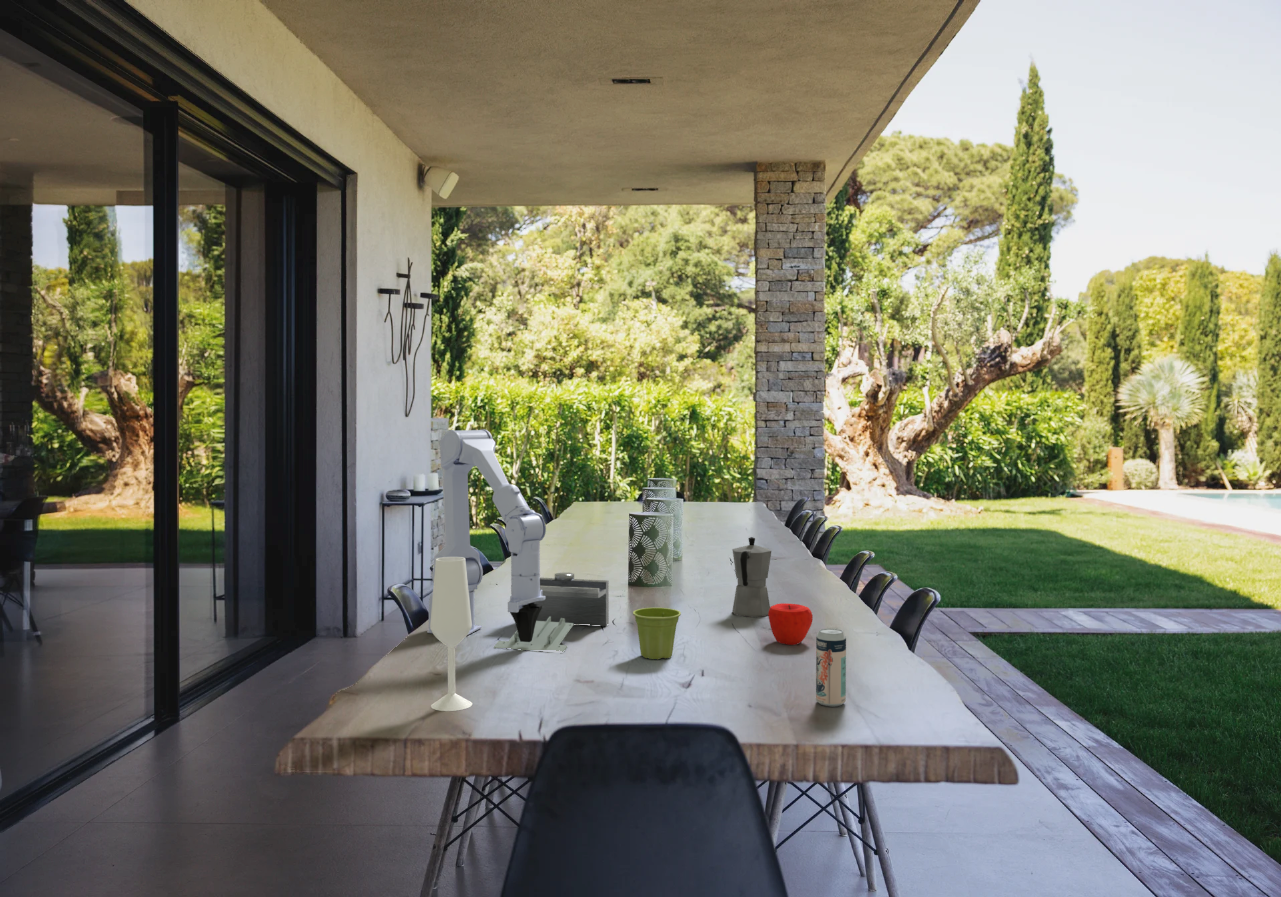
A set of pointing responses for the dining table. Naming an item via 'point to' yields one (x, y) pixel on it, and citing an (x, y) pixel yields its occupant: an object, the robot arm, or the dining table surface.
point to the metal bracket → (541, 637)
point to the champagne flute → (451, 620)
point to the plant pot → (656, 631)
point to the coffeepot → (751, 580)
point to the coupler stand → (574, 600)
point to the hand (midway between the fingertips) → (525, 641)
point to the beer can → (831, 667)
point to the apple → (790, 622)
